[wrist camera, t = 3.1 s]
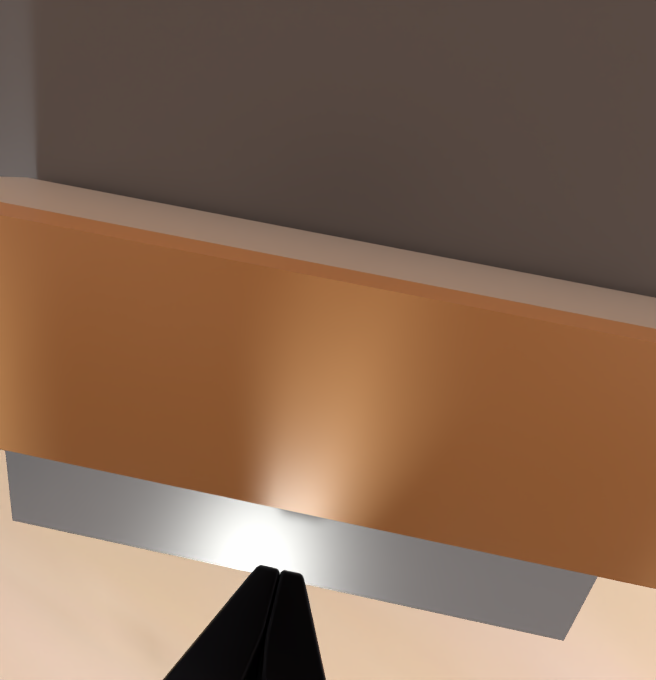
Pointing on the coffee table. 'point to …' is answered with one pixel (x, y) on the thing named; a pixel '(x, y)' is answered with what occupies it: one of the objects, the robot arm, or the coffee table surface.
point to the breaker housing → (344, 207)
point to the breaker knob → (330, 377)
